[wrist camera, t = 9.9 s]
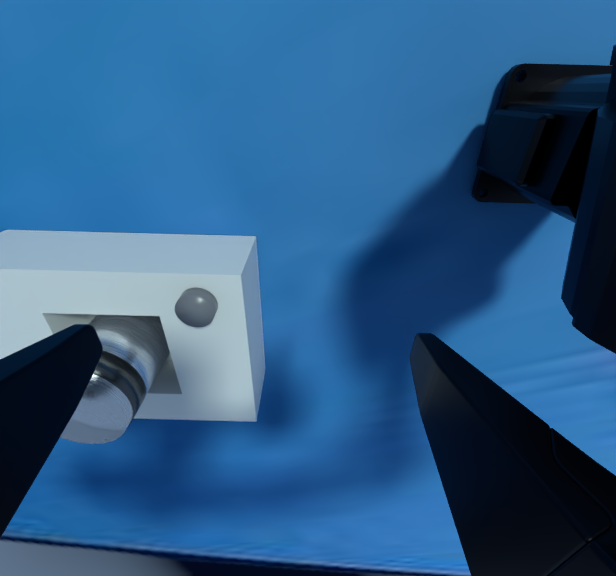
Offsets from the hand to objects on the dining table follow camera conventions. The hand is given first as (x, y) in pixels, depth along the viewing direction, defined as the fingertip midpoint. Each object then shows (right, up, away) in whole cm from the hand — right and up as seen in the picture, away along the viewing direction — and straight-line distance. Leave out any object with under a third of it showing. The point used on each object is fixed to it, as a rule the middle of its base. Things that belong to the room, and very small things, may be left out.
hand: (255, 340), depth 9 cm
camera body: (-10, 0, +14) cm, 18 cm away
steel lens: (-10, -1, +13) cm, 16 cm away
